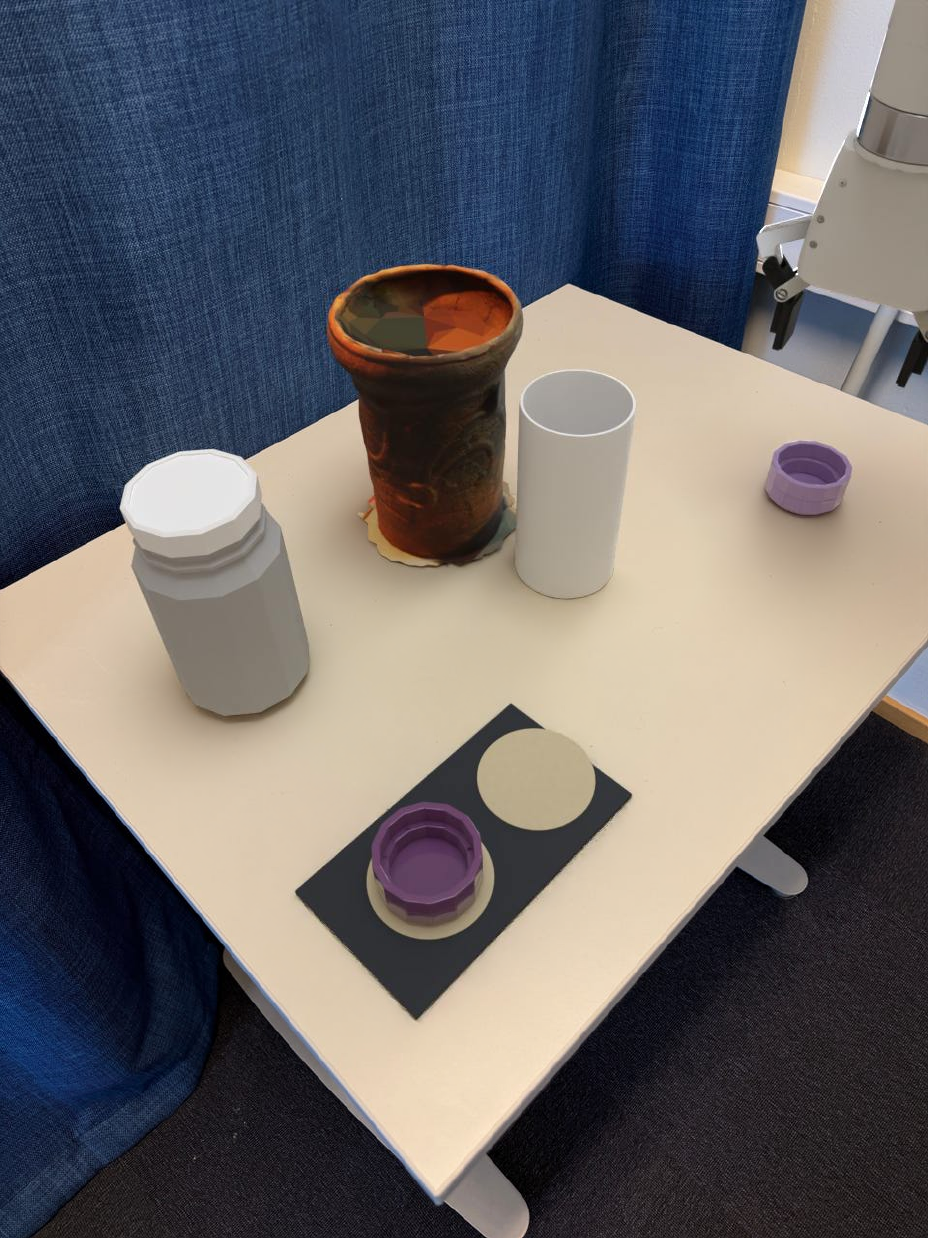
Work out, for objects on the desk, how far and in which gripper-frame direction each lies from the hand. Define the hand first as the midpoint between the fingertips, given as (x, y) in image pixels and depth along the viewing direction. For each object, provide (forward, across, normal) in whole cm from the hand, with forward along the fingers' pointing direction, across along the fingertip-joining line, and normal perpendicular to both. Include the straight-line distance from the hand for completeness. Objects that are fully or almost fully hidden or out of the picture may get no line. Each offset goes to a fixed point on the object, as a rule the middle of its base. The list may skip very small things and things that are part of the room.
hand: (841, 359), depth 71 cm
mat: (+13, +7, +45) cm, 47 cm away
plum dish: (+13, +7, +48) cm, 50 cm away
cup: (+14, +14, +19) cm, 27 cm away
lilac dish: (+14, 0, 0) cm, 14 cm away
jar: (+14, +28, +42) cm, 52 cm away
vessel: (+14, +26, +19) cm, 35 cm away
